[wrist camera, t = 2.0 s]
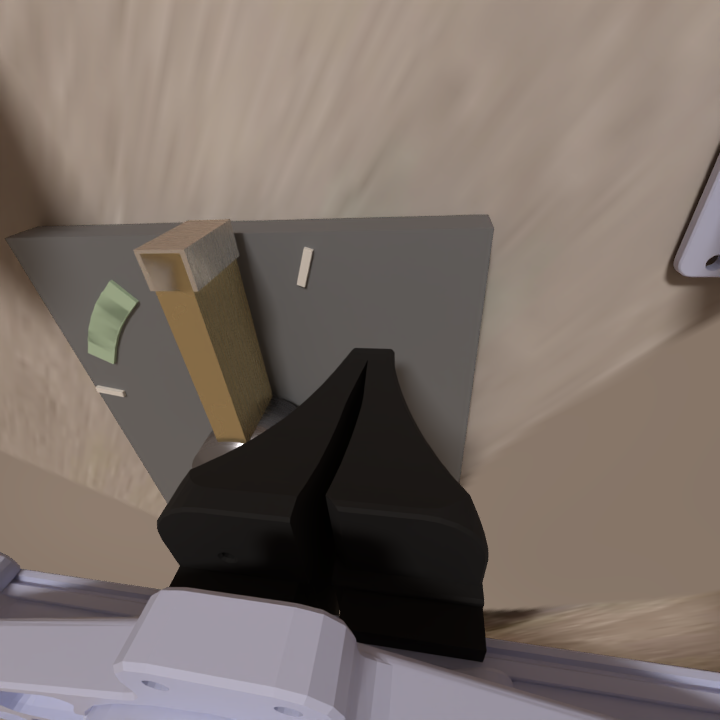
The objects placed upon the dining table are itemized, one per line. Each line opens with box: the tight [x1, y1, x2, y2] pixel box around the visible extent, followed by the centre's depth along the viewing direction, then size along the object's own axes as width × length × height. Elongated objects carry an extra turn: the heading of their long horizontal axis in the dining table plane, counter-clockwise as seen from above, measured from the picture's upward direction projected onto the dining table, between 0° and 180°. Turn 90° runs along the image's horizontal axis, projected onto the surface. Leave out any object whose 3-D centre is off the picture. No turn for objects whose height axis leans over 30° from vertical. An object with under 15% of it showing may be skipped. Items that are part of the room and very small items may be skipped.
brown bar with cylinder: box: [133, 219, 297, 469], centre depth 14 cm, size 4×12×3 cm, turn 4°
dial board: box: [5, 215, 494, 504], centre depth 19 cm, size 18×18×2 cm
